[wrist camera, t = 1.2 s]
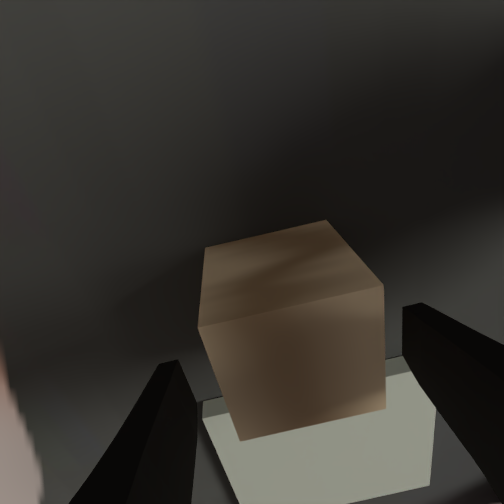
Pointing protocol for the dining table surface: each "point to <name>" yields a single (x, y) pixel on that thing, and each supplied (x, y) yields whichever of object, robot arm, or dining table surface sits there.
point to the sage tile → (333, 450)
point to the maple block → (293, 329)
